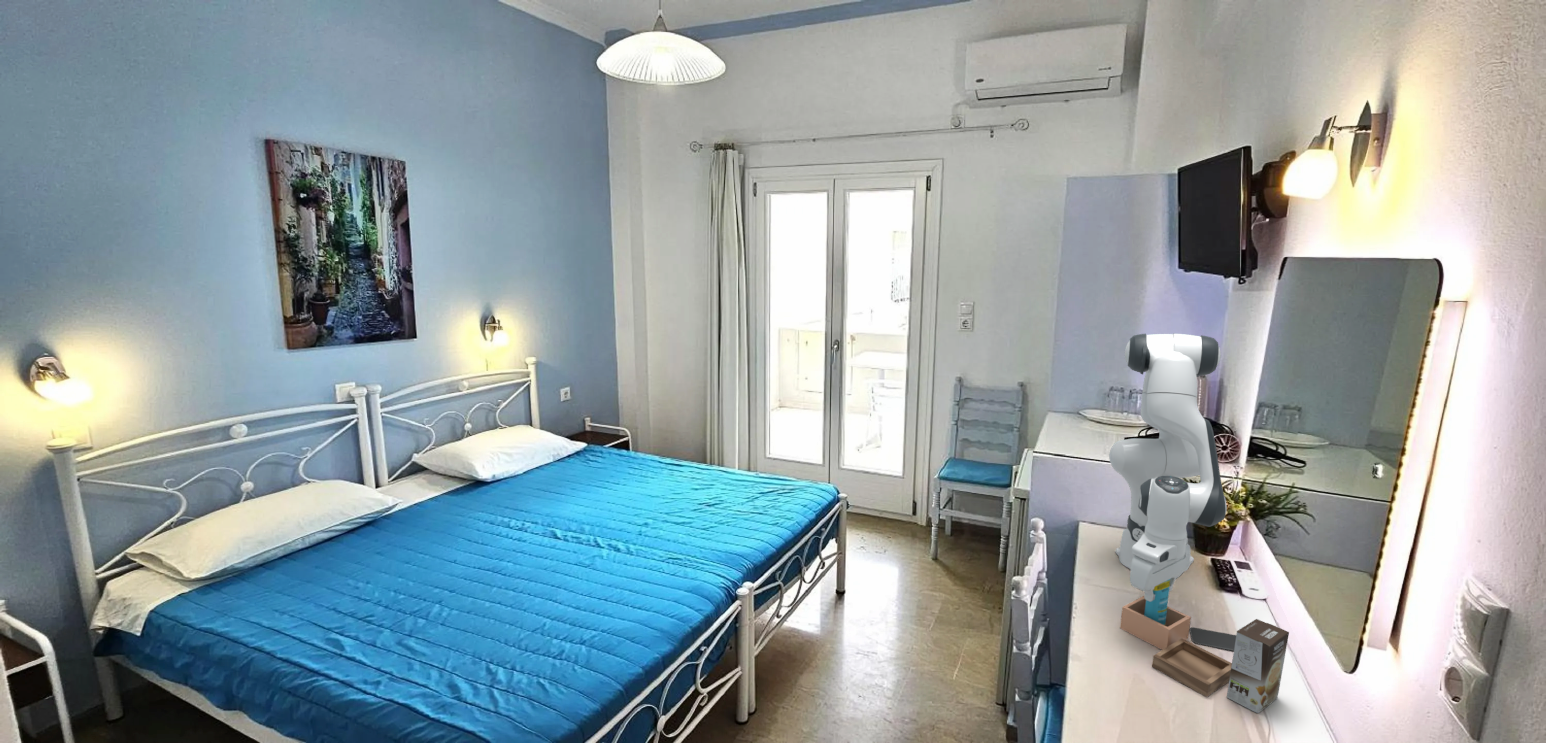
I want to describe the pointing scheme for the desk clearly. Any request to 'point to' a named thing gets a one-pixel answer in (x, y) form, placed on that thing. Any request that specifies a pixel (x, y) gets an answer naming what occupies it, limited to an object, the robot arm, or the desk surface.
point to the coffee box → (1257, 665)
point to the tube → (1158, 603)
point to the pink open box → (1154, 625)
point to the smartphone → (1213, 639)
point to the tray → (1193, 667)
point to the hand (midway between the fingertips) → (1158, 594)
